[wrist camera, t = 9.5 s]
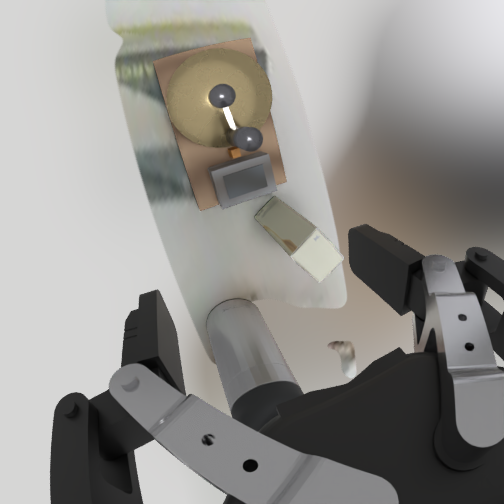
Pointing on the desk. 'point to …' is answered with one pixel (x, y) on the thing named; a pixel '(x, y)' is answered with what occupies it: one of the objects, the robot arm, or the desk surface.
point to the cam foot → (220, 99)
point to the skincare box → (300, 239)
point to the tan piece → (225, 150)
